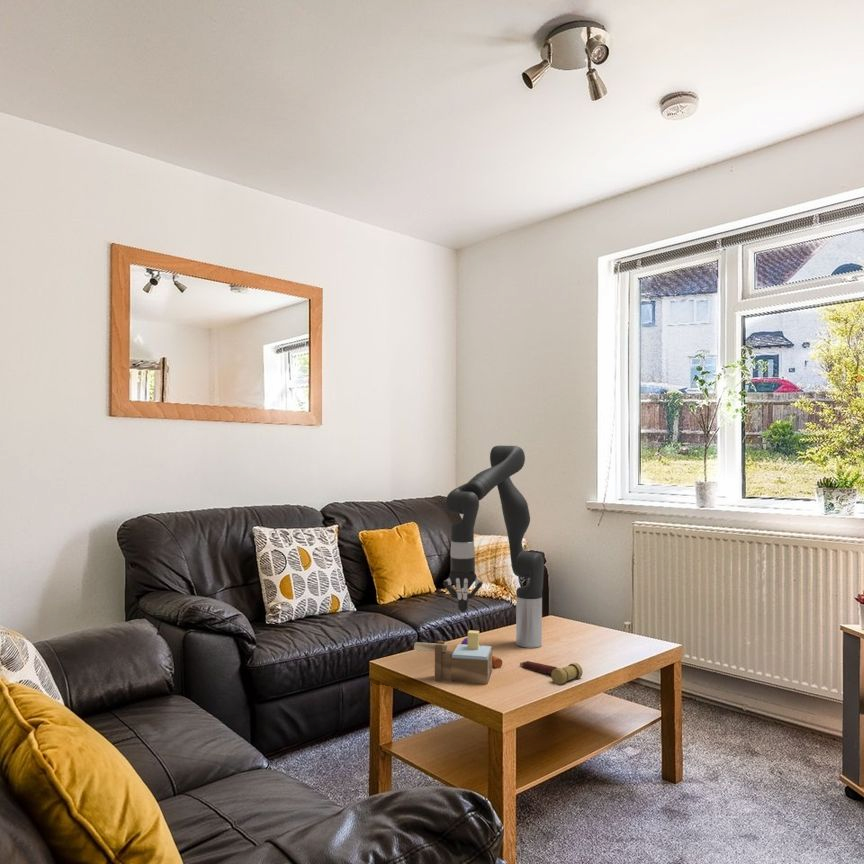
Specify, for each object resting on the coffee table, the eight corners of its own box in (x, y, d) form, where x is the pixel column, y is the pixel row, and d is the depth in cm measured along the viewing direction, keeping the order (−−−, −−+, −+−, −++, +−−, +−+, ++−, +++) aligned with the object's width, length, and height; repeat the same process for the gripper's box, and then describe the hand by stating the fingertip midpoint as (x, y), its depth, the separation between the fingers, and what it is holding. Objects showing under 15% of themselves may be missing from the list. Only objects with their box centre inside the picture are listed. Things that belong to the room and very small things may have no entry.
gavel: (509, 659, 216) (529, 653, 222) (510, 673, 215) (530, 667, 222) (562, 670, 200) (582, 663, 207) (563, 686, 200) (583, 679, 207)
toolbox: (442, 668, 215) (442, 634, 216) (492, 671, 212) (492, 637, 213) (434, 680, 203) (434, 645, 204) (487, 684, 200) (487, 648, 200)
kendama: (489, 657, 214) (456, 638, 232) (491, 675, 215) (458, 654, 232) (504, 652, 217) (471, 632, 234) (506, 669, 218) (473, 649, 235)
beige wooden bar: (415, 648, 208) (415, 642, 209) (447, 650, 206) (447, 644, 206) (414, 650, 206) (414, 644, 206) (446, 652, 204) (446, 646, 204)
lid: (458, 651, 214) (458, 628, 215) (491, 653, 212) (491, 630, 212) (452, 661, 203) (452, 637, 203) (486, 664, 201) (487, 639, 201)
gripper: (485, 554, 211) (485, 609, 211) (444, 553, 214) (444, 607, 214) (482, 558, 204) (482, 615, 204) (439, 557, 207) (439, 613, 206)
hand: (463, 611), depth 209 cm, fingers closed
